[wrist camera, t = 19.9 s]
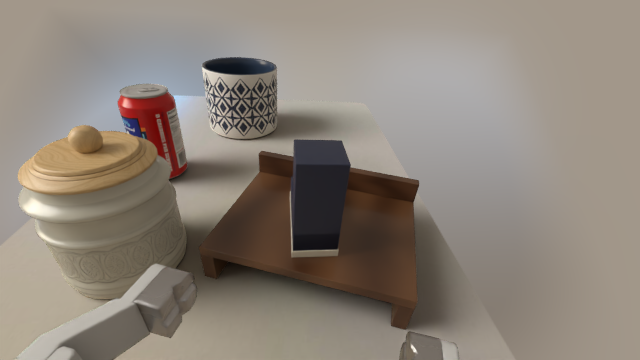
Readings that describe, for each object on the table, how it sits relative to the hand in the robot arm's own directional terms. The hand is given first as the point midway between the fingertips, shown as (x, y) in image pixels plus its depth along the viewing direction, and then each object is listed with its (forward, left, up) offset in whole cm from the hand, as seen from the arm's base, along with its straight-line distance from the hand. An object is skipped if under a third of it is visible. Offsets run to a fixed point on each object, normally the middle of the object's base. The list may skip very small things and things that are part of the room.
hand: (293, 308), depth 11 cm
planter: (+30, -56, -21) cm, 66 cm away
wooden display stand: (+3, -23, -20) cm, 31 cm away
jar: (+25, -14, -21) cm, 35 cm away
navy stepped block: (+4, -21, -15) cm, 27 cm away
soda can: (+34, -32, -21) cm, 51 cm away
